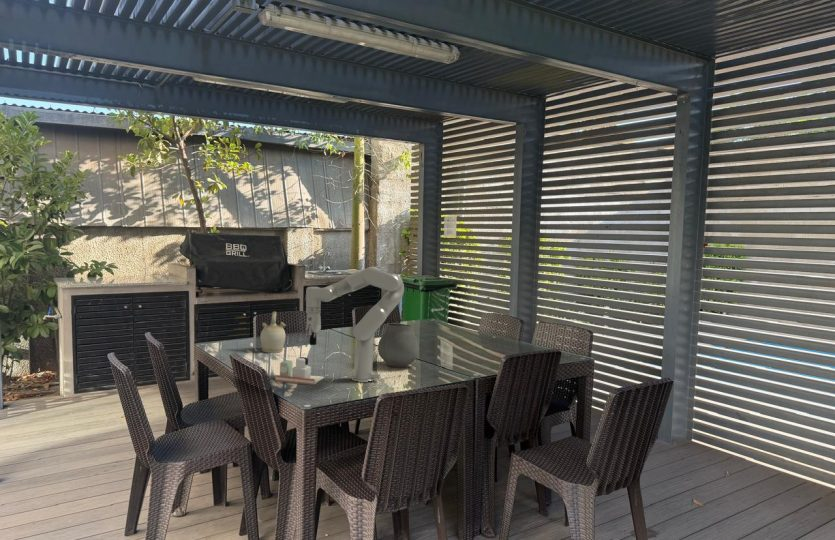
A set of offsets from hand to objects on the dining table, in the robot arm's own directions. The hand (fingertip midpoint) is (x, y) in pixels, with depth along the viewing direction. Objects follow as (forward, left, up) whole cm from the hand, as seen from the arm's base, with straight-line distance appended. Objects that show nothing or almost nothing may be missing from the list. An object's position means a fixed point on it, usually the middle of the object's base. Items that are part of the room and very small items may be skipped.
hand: (313, 344), depth 303 cm
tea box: (+10, +12, -17) cm, 22 cm away
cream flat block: (+3, +9, -17) cm, 19 cm away
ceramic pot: (-38, -41, -17) cm, 59 cm away
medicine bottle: (+1, +12, -17) cm, 21 cm away
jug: (+44, -49, -17) cm, 68 cm away
